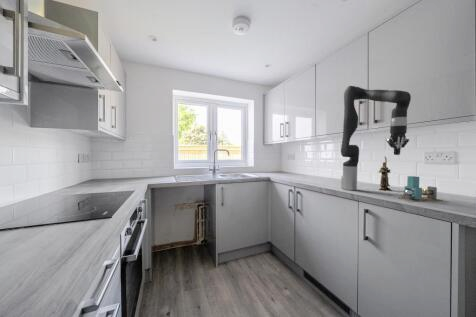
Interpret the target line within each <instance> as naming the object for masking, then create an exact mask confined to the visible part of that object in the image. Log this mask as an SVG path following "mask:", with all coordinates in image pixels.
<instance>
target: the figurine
mask: <svg viewBox="0 0 476 317" xmlns="http://www.w3.org/2000/svg"><path fill="white" fill-rule="evenodd" d="M387 163H388V162H387V156H384V162H382V166H381V167H380V168H379V170H378V173H380V174H381V176H380V184H379V189H378V190H379V191H384V192H388V191H390V192H391V191H392V189H390V187H391V184H389V174H390V173H391V169H389V167H388V166H387Z"/></svg>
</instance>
